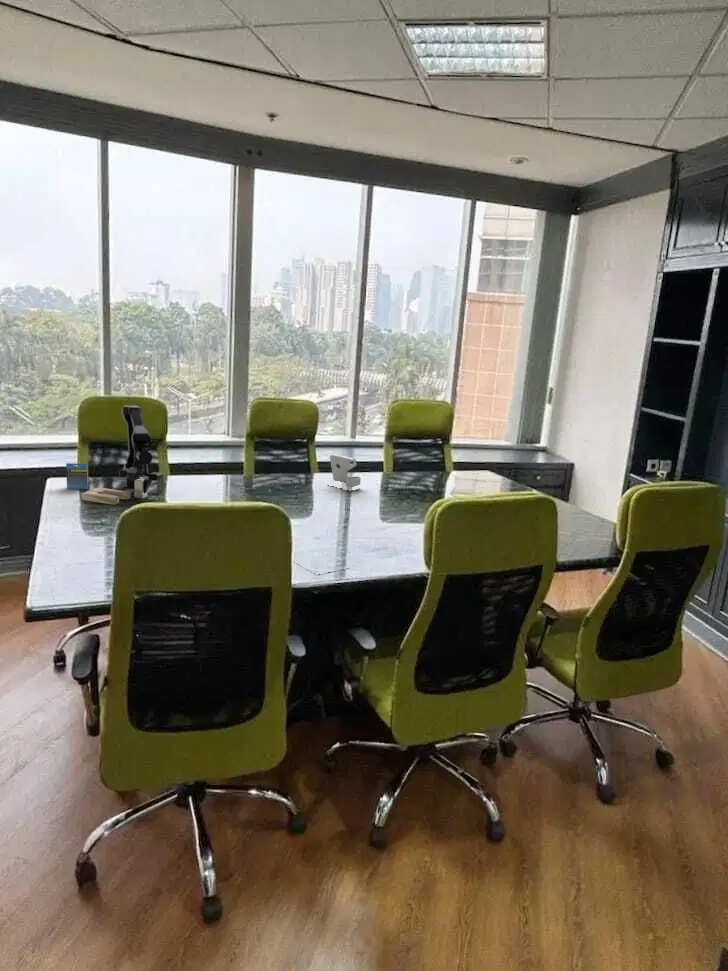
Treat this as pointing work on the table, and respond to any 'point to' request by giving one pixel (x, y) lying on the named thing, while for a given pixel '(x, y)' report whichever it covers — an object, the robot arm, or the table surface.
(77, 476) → the label tape cartridge
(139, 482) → the grey peg
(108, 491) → the notched board
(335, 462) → the phone holder
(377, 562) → the table surface
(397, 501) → the table surface
